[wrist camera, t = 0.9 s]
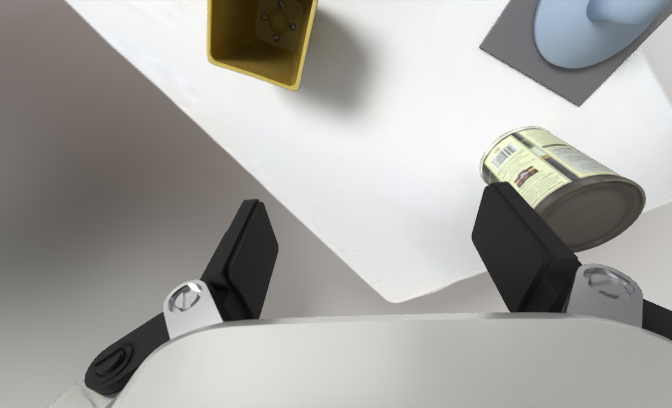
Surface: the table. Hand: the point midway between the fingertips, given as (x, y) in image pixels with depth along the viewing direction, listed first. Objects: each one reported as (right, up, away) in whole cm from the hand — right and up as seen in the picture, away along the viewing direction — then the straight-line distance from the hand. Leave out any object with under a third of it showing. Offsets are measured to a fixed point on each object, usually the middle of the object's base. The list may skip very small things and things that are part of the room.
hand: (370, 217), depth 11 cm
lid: (+26, +22, +16) cm, 37 cm away
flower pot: (-8, +21, +18) cm, 29 cm away
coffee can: (+25, +7, +27) cm, 38 cm away
